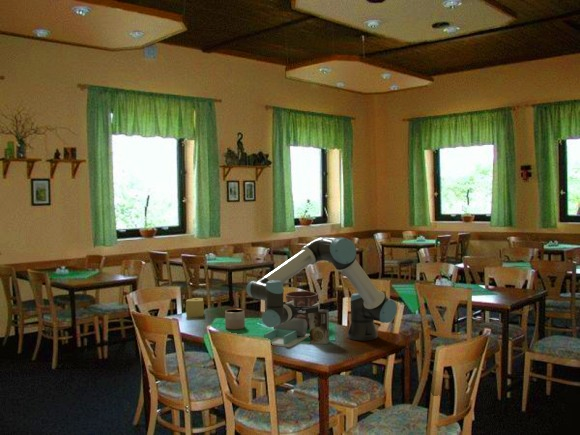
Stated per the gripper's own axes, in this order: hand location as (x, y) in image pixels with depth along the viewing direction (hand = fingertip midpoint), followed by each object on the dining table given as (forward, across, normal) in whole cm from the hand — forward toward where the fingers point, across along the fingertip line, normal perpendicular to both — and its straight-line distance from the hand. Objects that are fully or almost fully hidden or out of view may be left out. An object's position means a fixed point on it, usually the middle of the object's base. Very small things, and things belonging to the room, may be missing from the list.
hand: (305, 304), depth 293 cm
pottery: (+43, -23, -21) cm, 54 cm away
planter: (+24, -55, -22) cm, 64 cm away
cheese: (+42, -95, -22) cm, 107 cm away
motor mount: (+12, -17, -22) cm, 30 cm away
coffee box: (+14, +1, -22) cm, 26 cm away
